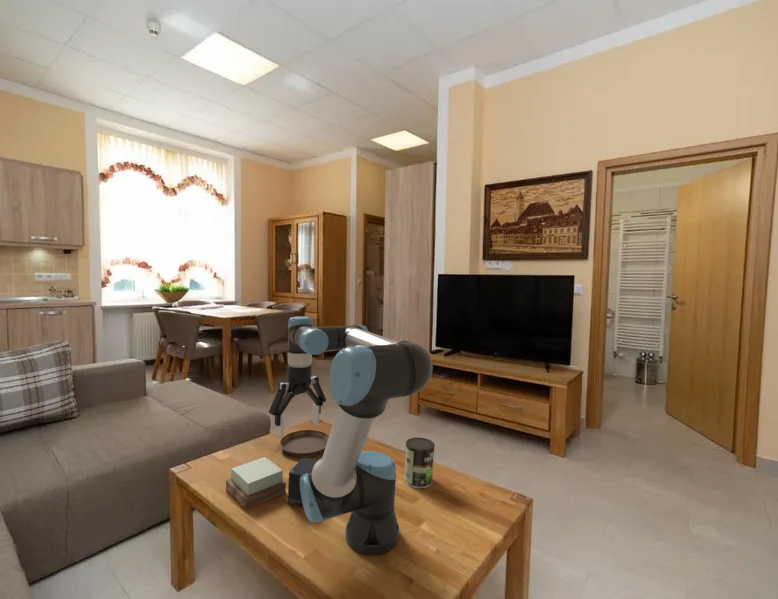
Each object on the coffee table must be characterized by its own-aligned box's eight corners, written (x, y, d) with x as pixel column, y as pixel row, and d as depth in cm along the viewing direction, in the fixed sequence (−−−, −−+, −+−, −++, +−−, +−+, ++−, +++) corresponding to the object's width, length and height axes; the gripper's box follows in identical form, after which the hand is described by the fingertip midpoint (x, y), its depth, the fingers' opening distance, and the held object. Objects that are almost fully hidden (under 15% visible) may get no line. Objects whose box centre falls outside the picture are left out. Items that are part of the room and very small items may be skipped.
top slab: (282, 481, 130) (282, 470, 130) (247, 495, 121) (248, 483, 121) (264, 467, 138) (264, 456, 138) (231, 479, 130) (231, 468, 129)
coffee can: (437, 479, 142) (439, 442, 141) (423, 492, 133) (426, 452, 132) (413, 470, 148) (414, 434, 146) (398, 482, 139) (400, 444, 138)
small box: (305, 507, 122) (306, 475, 121) (286, 504, 123) (287, 472, 123) (318, 489, 132) (319, 459, 132) (300, 486, 134) (301, 457, 133)
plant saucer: (315, 464, 149) (315, 456, 149) (269, 454, 156) (269, 446, 155) (338, 442, 169) (338, 434, 169) (296, 433, 175) (297, 426, 175)
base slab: (285, 493, 130) (285, 482, 130) (245, 511, 120) (245, 498, 120) (264, 476, 140) (265, 466, 139) (225, 491, 130) (226, 480, 129)
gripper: (323, 357, 137) (322, 416, 138) (257, 368, 119) (257, 436, 120) (337, 361, 132) (335, 422, 133) (270, 373, 113) (269, 444, 115)
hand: (298, 429), depth 126 cm, fingers open, 13 cm apart
